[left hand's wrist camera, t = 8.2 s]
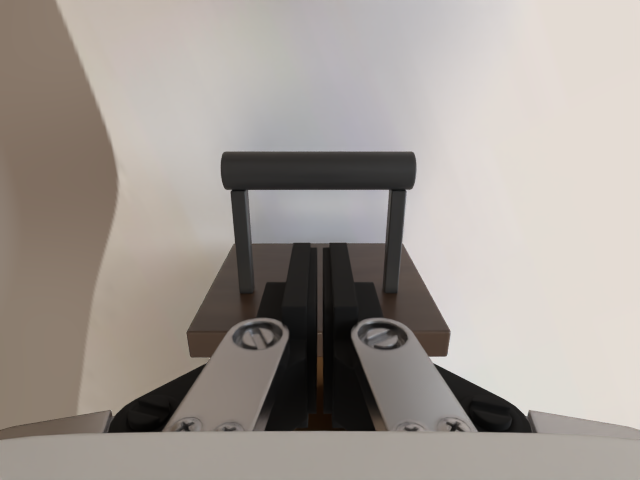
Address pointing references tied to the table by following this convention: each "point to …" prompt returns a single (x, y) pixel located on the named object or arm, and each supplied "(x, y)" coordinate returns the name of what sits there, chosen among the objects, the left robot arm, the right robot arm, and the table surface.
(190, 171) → the table surface
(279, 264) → the drawer
